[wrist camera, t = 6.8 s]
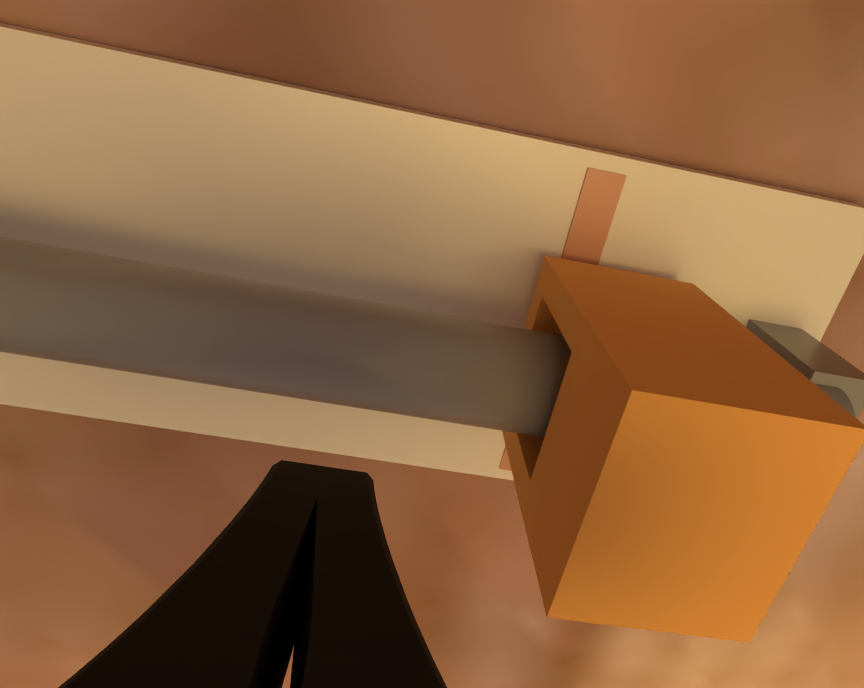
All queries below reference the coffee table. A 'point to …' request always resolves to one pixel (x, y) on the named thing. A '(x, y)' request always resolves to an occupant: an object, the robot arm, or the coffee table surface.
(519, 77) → the coffee table surface
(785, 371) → the orange block with hole
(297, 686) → the robot arm
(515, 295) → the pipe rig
